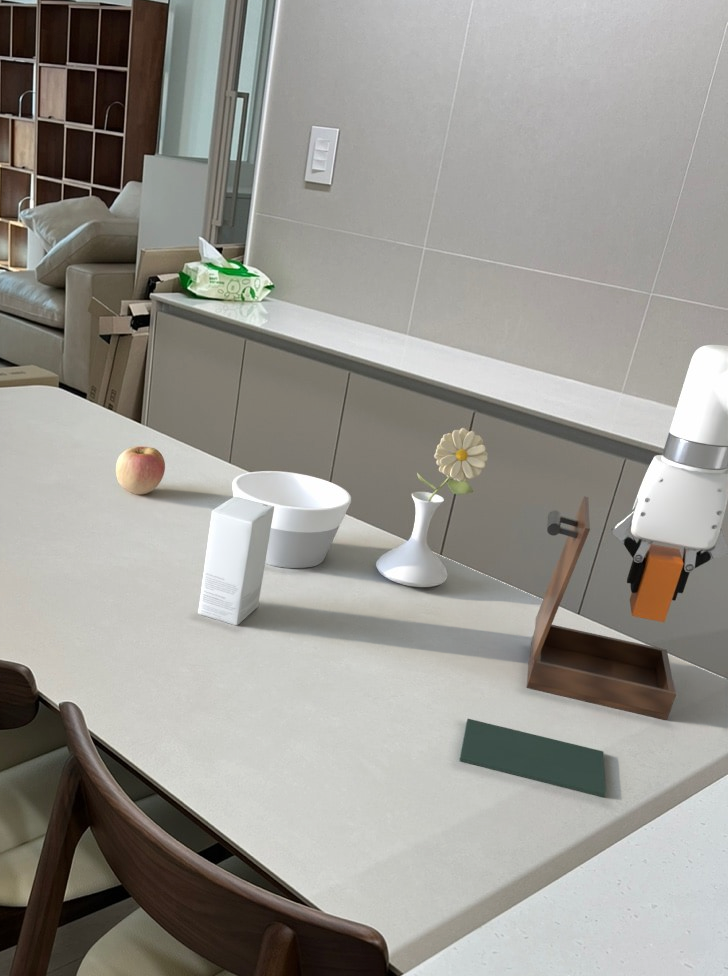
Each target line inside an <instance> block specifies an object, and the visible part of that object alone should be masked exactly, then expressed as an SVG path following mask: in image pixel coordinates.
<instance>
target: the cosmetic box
mask: <svg viewBox="0 0 728 976" xmlns="http://www.w3.org/2000/svg"><path fill="white" fill-rule="evenodd" d="M273 513H274V506H272V505H268V504H264V503H260V502H256V501H253V500H249V499H245V498H242V497H237V496H234V495H233V497H231V498H229V499H228V500H227V501H225V502H223V503H222V504H220V505H219V506H217V507H216V508H214V509H213V510H211V516H210V523H209V529H208V538H207V544H206V545H207V546H206V551H205V559H204V567H203V568H204V569H203V574H202V580H201V589H200V596H199V603H198V609H197V614H198V615H199V616H203V617H206V618H210V619H214V620H217V621H220V622H224V623H226V624H230V625H233V626H239V625H240V624H241V623H242V622H243V621H244V620H245V619H246V618H248V617H249V615H251V614H252V613H253V612H254V611H255V610H257V608H259V605H260V604H259V603H260V598H261V597H260V596H261V590H262V584H263V579H264V572H265V566H266V564H265V561H266V555H267V549H268V543H269V537H270V531H271V525H272V519H273Z"/></svg>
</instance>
